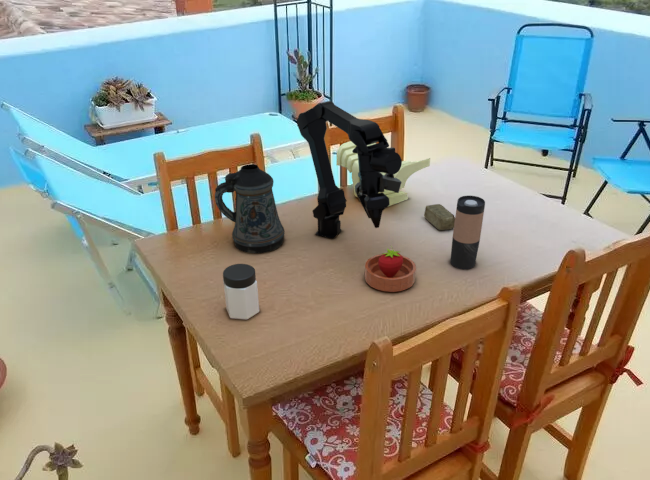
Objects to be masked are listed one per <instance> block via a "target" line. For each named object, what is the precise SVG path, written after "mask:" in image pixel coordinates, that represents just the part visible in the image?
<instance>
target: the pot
mask: <svg viewBox="0 0 650 480" xmlns="http://www.w3.org/2000/svg"><path fill="white" fill-rule="evenodd" d="M382 255H383V253H379V254H376V255H373V256H371V257H369V258H367V260H366V261H365V264H364V281H365V283H366V284H367V285H368V286H370V287H371V288H373V289H375V290H378V291H382V292H390V293H394V292H401V291H402V292H403V291H404V290H408V289H409V288H411V287H412V286H413V285H414V284H415V282H416V272H417V265H416V263H415V261H413V260H412V259H410V258H409V257H407V256H405V255H402V257H403V264H402V267H401V268H400V270H399V271H398V272H397V273H396V274H395V275H394V276H393V278H388V277H387V276H386V275H385V274H384V273H383V272H382V271H381V270H380V268H379V265H378V261H379V258H380V257H381V256H382Z"/></svg>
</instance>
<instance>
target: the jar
mask: <svg viewBox="0 0 650 480" xmlns="http://www.w3.org/2000/svg"><path fill="white" fill-rule="evenodd" d="M256 275H257V274H256V270H255V268H254V266H252V265H250V264H247V263H235V264H231V265H229V266H227V267H225V268H224V270H223V272H222V283H223V290H224V291H223V292H224V301H225V309H226V311H227V314H228V316H229V318H230V319H234V320H235V319H236V320H249V319H250V318H252V317H253V316H255V315H257V314H258V313H260V301H259V300H260V299H259V290H258V287H259V286H258V281H257V277H256Z"/></svg>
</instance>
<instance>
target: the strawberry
mask: <svg viewBox="0 0 650 480" xmlns="http://www.w3.org/2000/svg"><path fill="white" fill-rule="evenodd" d="M390 247H391V249H392V250H391V249H389V248H388V247H387V248H386V250H387V252H384V253H382V254H383V255H382V256H381V257H380V258H379V261H378V265H379V268H380V270H381V271H382V272H383V273H384V274H385V275H386V276H387V277H388V278H393V276H394V275H395V274H396V273H397V272H398V271H399V270H400V268H401V267H402V264H403V257H402V256H403V254H400V251H398V250H395V249H394V248H393V247H392V245H390Z"/></svg>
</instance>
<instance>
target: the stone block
mask: <svg viewBox="0 0 650 480" xmlns="http://www.w3.org/2000/svg"><path fill="white" fill-rule="evenodd" d="M424 208H425V209H424V214H423V216H424V218H425V219H426V220H427V221H428V222H429V223H430V224H431V225H432V226H433V227H434V228H436V229H437V230H439V231H447V230H449V231H450V230H452V229H454V223H455V214H454V213H452V212H451V211H450V210H448V209H447V208H446V207H445V206H444V205H442V204H441V203H435V204H429V205H426V206H425V207H424Z"/></svg>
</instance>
